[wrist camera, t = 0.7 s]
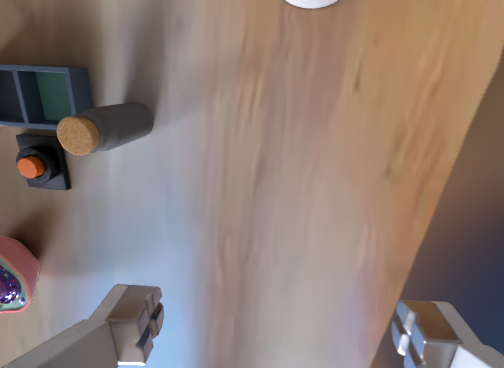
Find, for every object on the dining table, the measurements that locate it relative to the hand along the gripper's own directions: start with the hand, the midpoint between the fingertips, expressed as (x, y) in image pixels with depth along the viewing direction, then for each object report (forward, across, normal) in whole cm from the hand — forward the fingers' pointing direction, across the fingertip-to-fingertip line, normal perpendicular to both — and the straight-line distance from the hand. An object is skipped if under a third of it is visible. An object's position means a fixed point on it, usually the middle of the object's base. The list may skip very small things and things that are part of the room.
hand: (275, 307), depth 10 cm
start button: (+38, +43, +8) cm, 58 cm away
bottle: (+40, +23, 0) cm, 46 cm away
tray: (+41, +40, -4) cm, 57 cm away
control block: (+41, +43, +8) cm, 59 cm away
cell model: (+41, +55, +30) cm, 76 cm away
